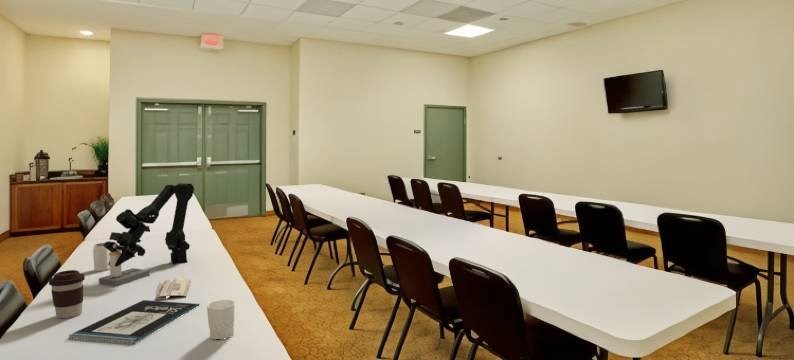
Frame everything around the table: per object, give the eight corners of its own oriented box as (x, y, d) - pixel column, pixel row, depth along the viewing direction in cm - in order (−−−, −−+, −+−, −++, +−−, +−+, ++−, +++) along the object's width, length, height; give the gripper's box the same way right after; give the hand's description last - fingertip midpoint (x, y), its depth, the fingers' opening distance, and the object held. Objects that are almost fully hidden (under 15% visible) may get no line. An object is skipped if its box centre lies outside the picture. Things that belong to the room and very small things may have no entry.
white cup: (225, 328, 144) (224, 298, 143) (240, 334, 139) (239, 303, 139) (203, 337, 137) (201, 305, 137) (218, 343, 133) (216, 311, 132)
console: (132, 273, 203) (132, 267, 203) (149, 275, 200) (149, 270, 200) (99, 284, 188) (98, 278, 188) (116, 286, 185) (116, 280, 185)
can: (102, 271, 205) (101, 246, 204) (90, 271, 207) (89, 245, 206) (114, 268, 212) (112, 243, 211) (102, 267, 213) (101, 242, 212)
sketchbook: (199, 307, 164) (199, 301, 164) (134, 347, 132) (133, 340, 132) (143, 303, 168) (143, 297, 167) (66, 341, 136) (65, 334, 136)
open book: (159, 285, 189) (160, 279, 189) (191, 284, 193) (191, 279, 193) (149, 303, 167) (150, 296, 167) (185, 302, 172) (186, 295, 172)
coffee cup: (63, 310, 159) (60, 268, 158) (93, 309, 160) (90, 268, 159) (44, 321, 150) (41, 277, 148) (75, 320, 150) (72, 276, 149)
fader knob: (116, 274, 192) (114, 251, 191) (122, 275, 191) (120, 252, 190) (110, 276, 189) (108, 252, 188) (116, 277, 188) (114, 253, 187)
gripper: (105, 223, 195) (82, 254, 186) (138, 225, 189) (115, 257, 179) (123, 237, 203) (101, 267, 194) (154, 240, 197) (133, 271, 187)
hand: (112, 265), depth 188 cm, fingers closed on fader knob, 3 cm apart
